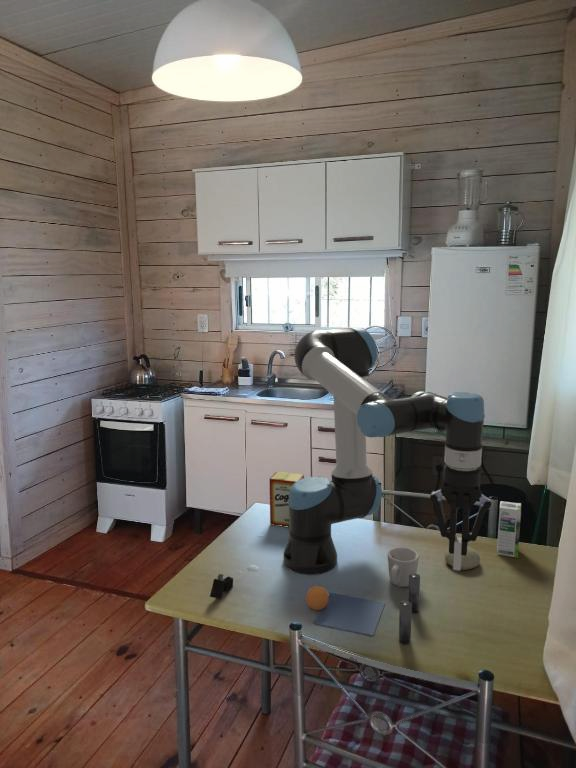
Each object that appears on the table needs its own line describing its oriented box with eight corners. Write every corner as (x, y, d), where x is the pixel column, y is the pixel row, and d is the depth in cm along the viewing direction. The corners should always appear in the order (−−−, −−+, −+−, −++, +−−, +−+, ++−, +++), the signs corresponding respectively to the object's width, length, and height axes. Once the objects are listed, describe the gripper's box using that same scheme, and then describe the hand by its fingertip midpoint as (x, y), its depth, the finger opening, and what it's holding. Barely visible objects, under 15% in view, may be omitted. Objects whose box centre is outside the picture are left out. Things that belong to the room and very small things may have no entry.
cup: (407, 598, 150) (408, 569, 149) (377, 589, 154) (378, 561, 153) (422, 579, 159) (423, 551, 158) (393, 571, 163) (394, 544, 162)
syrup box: (496, 555, 172) (499, 507, 169) (497, 545, 177) (500, 499, 174) (517, 558, 170) (521, 510, 167) (517, 549, 175) (521, 502, 172)
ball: (315, 618, 144) (298, 602, 145) (321, 606, 149) (305, 590, 150) (329, 605, 142) (312, 589, 143) (335, 593, 147) (319, 577, 148)
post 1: (397, 642, 133) (398, 606, 131) (399, 636, 135) (400, 599, 133) (409, 645, 132) (410, 608, 130) (411, 638, 134) (412, 602, 133)
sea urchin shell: (474, 547, 172) (480, 538, 165) (478, 576, 168) (483, 567, 161) (441, 546, 173) (445, 537, 166) (443, 575, 169) (448, 566, 162)
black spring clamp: (222, 598, 156) (227, 575, 158) (230, 600, 155) (235, 577, 157) (207, 595, 148) (212, 572, 150) (214, 597, 147) (220, 574, 149)
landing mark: (313, 623, 140) (313, 623, 140) (330, 593, 153) (330, 592, 153) (372, 636, 135) (372, 635, 135) (385, 603, 148) (385, 602, 148)
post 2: (407, 612, 144) (408, 577, 143) (408, 606, 147) (409, 572, 145) (417, 614, 144) (419, 579, 142) (419, 608, 146) (420, 574, 144)
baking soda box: (304, 520, 196) (304, 473, 193) (298, 528, 190) (298, 480, 187) (276, 516, 199) (276, 470, 196) (270, 524, 193) (269, 477, 190)
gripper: (429, 467, 127) (424, 570, 132) (494, 474, 122) (487, 580, 127) (433, 457, 134) (429, 554, 138) (495, 463, 129) (488, 564, 134)
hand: (457, 567), depth 133 cm, fingers closed
